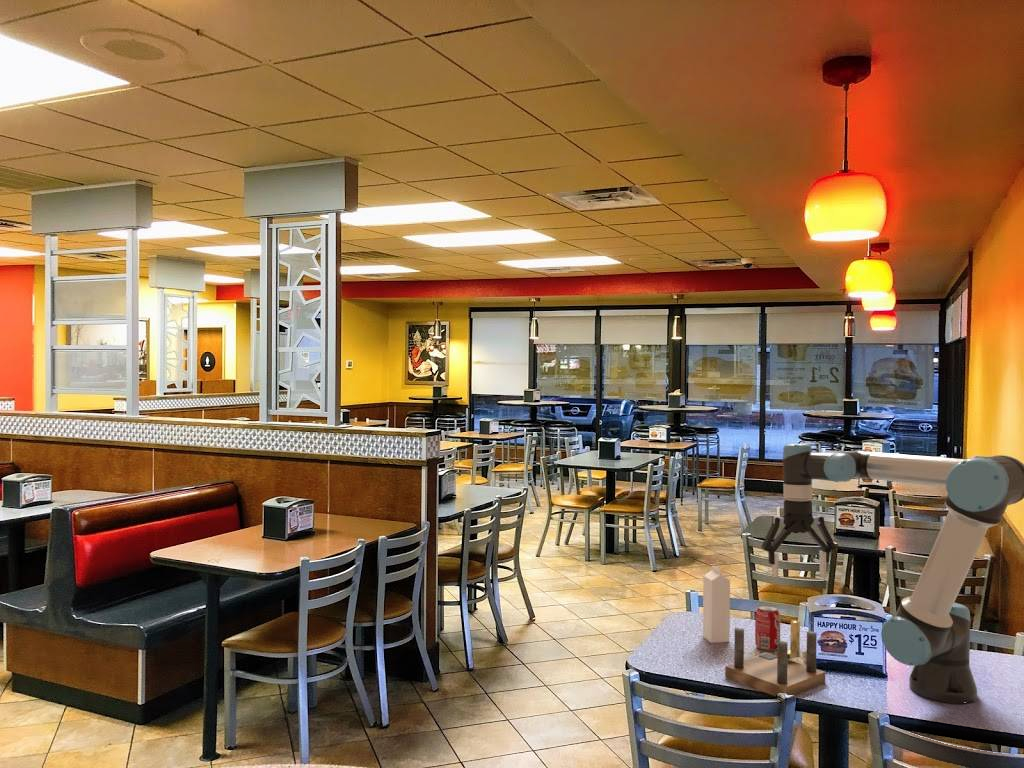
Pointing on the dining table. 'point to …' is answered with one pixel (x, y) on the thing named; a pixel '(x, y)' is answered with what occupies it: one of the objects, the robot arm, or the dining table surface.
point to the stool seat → (775, 668)
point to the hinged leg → (794, 640)
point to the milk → (716, 606)
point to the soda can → (767, 627)
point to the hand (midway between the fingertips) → (799, 575)
